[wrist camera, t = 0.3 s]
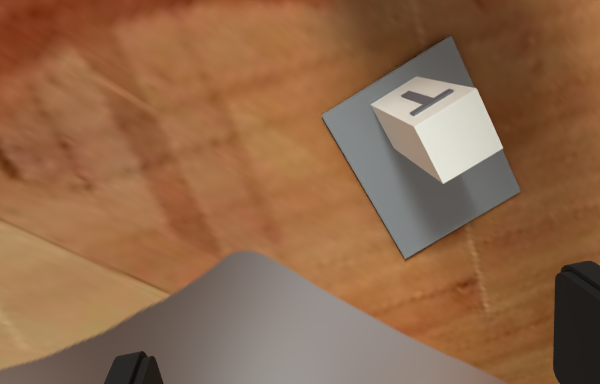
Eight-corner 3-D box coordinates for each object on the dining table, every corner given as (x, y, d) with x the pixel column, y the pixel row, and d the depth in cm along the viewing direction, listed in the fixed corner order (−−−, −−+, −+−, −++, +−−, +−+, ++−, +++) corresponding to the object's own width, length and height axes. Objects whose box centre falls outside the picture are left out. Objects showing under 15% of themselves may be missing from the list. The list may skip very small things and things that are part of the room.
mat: (321, 115, 44) (321, 116, 43) (448, 35, 43) (451, 35, 42) (403, 256, 49) (405, 258, 49) (517, 189, 48) (521, 191, 48)
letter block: (369, 103, 43) (412, 124, 32) (415, 74, 43) (475, 86, 31) (393, 148, 45) (443, 183, 33) (438, 121, 44) (503, 148, 33)
